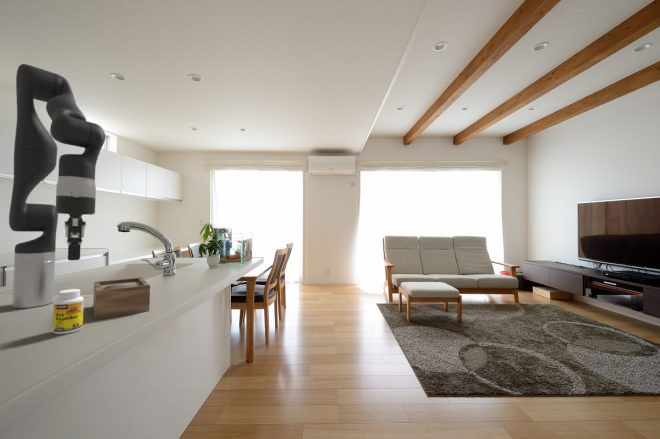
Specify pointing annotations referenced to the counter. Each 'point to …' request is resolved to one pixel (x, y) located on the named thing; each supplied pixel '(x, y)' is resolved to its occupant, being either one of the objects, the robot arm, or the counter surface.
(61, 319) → the supplement bottle
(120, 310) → the wooden box
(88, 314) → the counter surface
